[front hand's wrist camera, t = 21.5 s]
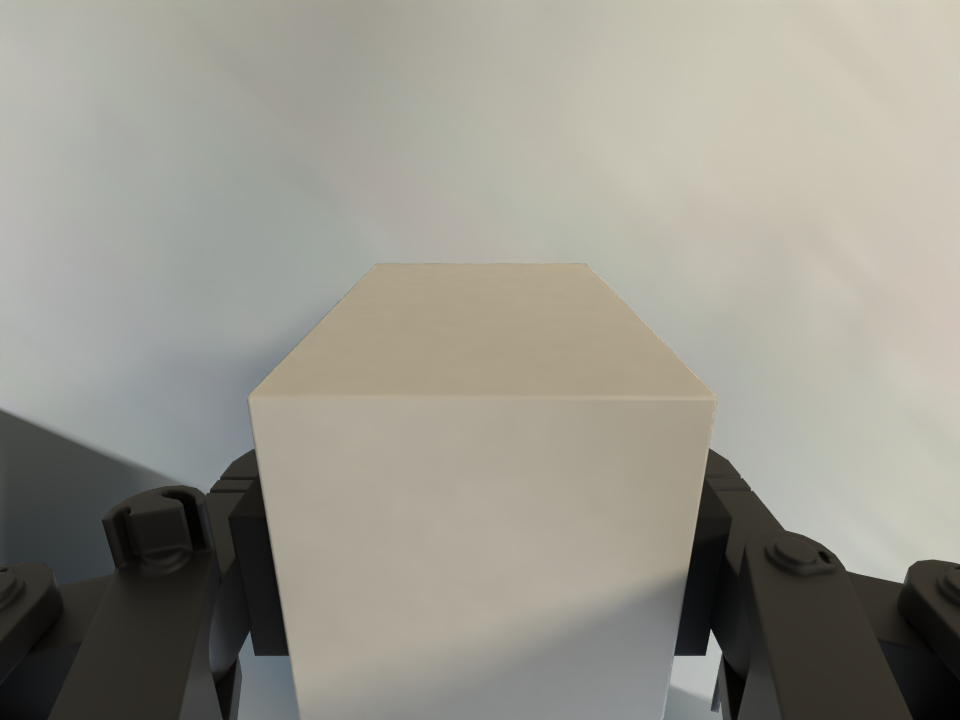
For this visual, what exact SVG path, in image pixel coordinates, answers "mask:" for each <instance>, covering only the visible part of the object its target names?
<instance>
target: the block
mask: <svg viewBox="0 0 960 720" xmlns="http://www.w3.org/2000/svg"><path fill="white" fill-rule="evenodd" d="M247 403H248V409H249V415H250V422H251V428H252V434H253V440H254V446H255V452H256V458H257V464H258V470H259V476H260V482H261V488H262V494H263V500H264V506H265V512H266V518H267V524H268V531H269V537H270V543H271V549H272V555H273V561H274V567H275V573H276V579H277V585H278V591H279V597H280V603H281V609H282V615H283V621H284V627H285V634H286V640H287V646H288V652H289V658H290V663H291V670H292V676H293V682H294V688H295V694H296V700H297V706H298V712H299V718H300V720H663V718H664V712H665V706H666V700H667V693H668V688H669V682H670V676H671V670H672V664H673V659H674V653H675V647H676V641H677V635H678V629H679V623H680V617H681V611H682V605H683V599H684V593H685V587H686V581H687V576H688V570H689V564H690V558H691V552H692V546H693V540H694V534H695V528H696V522H697V516H698V510H699V504H700V499H701V493H702V487H703V481H704V475H705V469H706V463H707V457H708V451H709V445H710V439H711V433H712V427H713V421H714V416H715V410H716V404H717V398H716V395H715V394H714V393H713V392H712V391H711V390H710V389H709V388H708V387H707V386H706V385H705V384H704V383H703V382H702V381H701V380H700V379H699V378H698V377H697V376H696V375H695V374H694V373H693V372H692V371H691V370H690V369H689V368H688V367H687V366H686V365H685V364H684V363H683V362H682V361H681V360H680V359H679V358H678V357H677V356H676V355H675V354H674V353H673V352H672V350H671V349H670V348H669V347H668V346H667V345H666V344H665V343H664V342H663V341H662V340H661V339H660V338H659V337H658V336H657V335H656V334H655V333H654V332H653V331H652V330H651V329H650V328H649V327H648V326H647V325H646V324H645V323H644V322H643V321H642V320H641V319H640V318H639V317H638V316H637V315H636V314H635V313H634V312H633V311H632V310H631V309H630V308H629V307H628V306H627V305H626V304H625V303H624V302H623V301H622V300H621V299H620V298H619V297H618V295H617V294H616V293H615V292H614V291H613V290H612V289H611V288H610V287H609V286H608V285H607V284H606V283H605V282H604V281H603V280H602V279H601V278H600V277H599V276H598V275H597V274H596V273H595V272H594V271H593V270H592V269H591V268H590V267H589V266H588V265H587V264H375V265H374V266H373V267H372V268H371V270H370V271H369V272H368V273H367V274H366V275H365V276H364V277H363V278H362V279H361V280H360V281H359V282H358V283H357V284H356V285H355V286H354V287H353V288H352V289H351V290H350V291H349V292H348V293H347V294H346V295H345V296H344V297H343V298H342V299H341V300H340V301H339V302H338V303H337V304H336V305H335V307H334V308H333V309H332V310H331V311H330V312H329V313H328V314H327V315H326V316H325V317H324V318H323V319H322V320H321V321H320V322H319V323H318V324H317V325H316V326H315V327H314V328H313V329H312V330H311V331H310V332H309V333H308V334H307V335H306V336H305V337H304V338H303V339H302V340H301V341H300V342H299V344H298V345H297V346H296V347H295V348H294V349H293V350H292V351H291V352H290V353H289V354H288V355H287V356H286V357H285V358H284V359H283V360H282V361H281V362H280V363H279V364H278V365H277V366H276V367H275V368H274V369H273V370H272V371H271V372H270V373H269V374H268V375H267V376H266V377H265V378H264V379H263V381H262V382H261V383H260V384H259V385H258V386H257V387H256V388H255V389H254V390H253V391H252V392H251V393H250V394H249V395H248V397H247Z"/></svg>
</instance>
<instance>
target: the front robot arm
mask: <svg viewBox="0 0 960 720" xmlns="http://www.w3.org/2000/svg"><path fill="white" fill-rule="evenodd" d="M102 522H103V526H104V529H105V533H106V536H107V539H108V543H109V546H110V550H111V553H112V556H113V560H114V563H115V567H116V568H115V570H114V573H113V574H110V575H106V576H103V577H98V578H93V579H89V580H84V581H79V582H74V583H70V584H65V585H61V586H58V584H57V582H56V579H55V576H54V573H53V570H52V569H51V568H49V567H48V566H47V565H45V564H43V563H34V562H24V563H17V564H11V565H6V566H2V567H0V720H237V717H238V708H239V699H240V690H241V682H242V673H241V666H240V661H239V656H238V654H239V652H240V650H241V648H242V645H243V643H244V641H245V639H246V637H247V635H248V633H249V631H250V633H251V638H252V643H253V648H254V653H255V656H289V652H288V646H287V640H286V634H285V627H284V621H283V615H282V609H281V603H280V597H279V591H278V585H277V579H276V573H275V567H274V561H273V555H272V549H271V543H270V537H269V531H268V524H267V518H266V512H265V506H264V500H263V494H262V488H261V482H260V476H259V470H258V464H257V458H256V452H255V449H252V450H251V451H249V452H248V453H246V454H244V455H243V456H241V457H240V458H238V459H237V460H235V461H233V462H232V463H231V465H230V466H229V467H228V468H227V470H226V471H225V472H224V473H223V475H222V476H221V477H220V480H218V481H217V482H216V483H215V484H214V486H213V487H212V488H211V489H210V493H207V494H206V496H205V495H204V494H203V493H202V492H201V491H199V490H198V489H197V488H193V487H188V486H183V485H181V486H165V487H161V488H156V489H152V490H148V491H145V492H142V493H140V494H137V495H135V496H133V497H130V498H128V499H126V500H125V501H123V502H121V503H120V504H118V505H117V506H115V507H114V508H112V509H111V510H110V511H109V512H108V514H107V515H106V516H105V517H104V518H103V519H102ZM710 630H712V632H713V634H714V636H715V638H716V640H717V642H718V644H719V646H720V648H721V650H722V656H721V661H720V666H719V670H718V675H717V680H716V685H715V689H714V694H713V699H712V706H711V711H713V712H717V713H718V711H719V707H720V702H721V707H722V715H723V720H960V564H957V563H953V562H946V561H940V560H924V561H917V562H916V563H914V564H913V565H912V566H910V567H909V569H908V572H907V574H906V577H905V580H904V583H903V584H902V583H897V582H892V581H888V580H883V579H878V578H874V577H869V576H864V575H860V574H856V573H852V572H848V571H846V569H845V567H844V566H843V564H842V563H841V562H840V560H839V559H838V558H837V556H836V555H835V554H834V553H832V552H831V551H830V550H828V549H827V548H826V547H824V546H823V545H822V544H820V543H818V542H816V541H814V540H812V539H810V538H808V537H806V536H804V535H800V534H797V533H793V532H789V531H786V530H784V528H783V527H782V526H781V525H780V523H779V522H778V521H777V520H776V519H775V517H774V516H773V515H772V514H771V512H770V511H769V510H768V509H767V507H766V506H765V505H764V504H763V503H762V501H761V500H760V499H759V498H758V496H757V495H756V494H755V493H754V491H751V488H750V487H749V485H748V484H747V483H746V482H745V480H744V479H743V478H741V477H740V474H739V473H738V472H737V471H736V469H735V468H734V467H733V466H732V464H731V463H730V462H729V461H728V460H727V459H725V458H724V457H722V456H721V455H719V454H717V453H716V452H714V451H713V450H711V449H710V448H709V451H708V457H707V463H706V469H705V475H704V481H703V487H702V493H701V499H700V504H699V510H698V516H697V522H696V528H695V534H694V540H693V546H692V552H691V558H690V564H689V570H688V576H687V581H686V587H685V593H684V599H683V605H682V611H681V617H680V623H679V629H678V635H677V641H676V647H675V653H674V656H705V655H706V650H707V645H708V640H709V635H710Z"/></svg>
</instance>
